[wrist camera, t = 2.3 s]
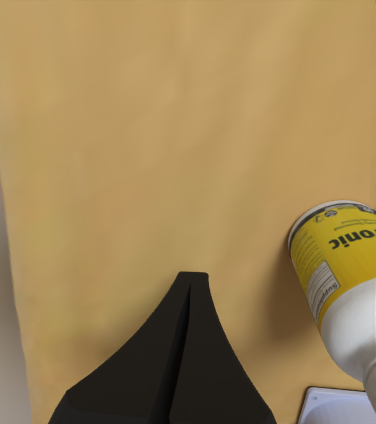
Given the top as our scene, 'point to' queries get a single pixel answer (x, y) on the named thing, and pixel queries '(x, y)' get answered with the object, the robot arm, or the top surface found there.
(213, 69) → the top surface
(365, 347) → the supplement bottle
